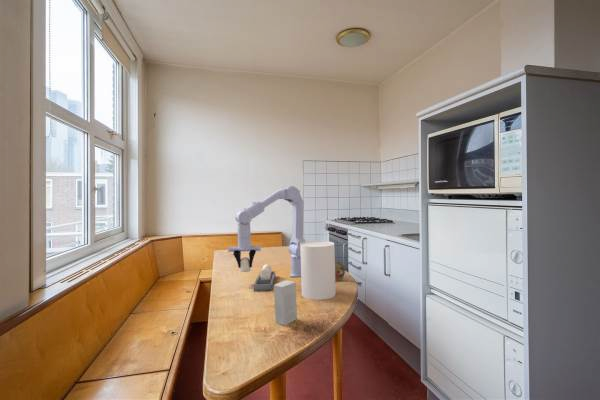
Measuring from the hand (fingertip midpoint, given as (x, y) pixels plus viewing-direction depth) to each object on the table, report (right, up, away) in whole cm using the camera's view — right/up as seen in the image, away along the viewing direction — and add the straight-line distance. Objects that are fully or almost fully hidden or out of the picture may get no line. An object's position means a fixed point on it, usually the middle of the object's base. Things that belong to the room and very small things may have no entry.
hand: (245, 267), depth 130 cm
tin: (+38, -7, +2) cm, 39 cm away
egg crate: (+9, -7, 0) cm, 12 cm away
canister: (+32, -7, -16) cm, 37 cm away
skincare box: (+20, -8, -40) cm, 45 cm away
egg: (0, -2, 0) cm, 2 cm away
